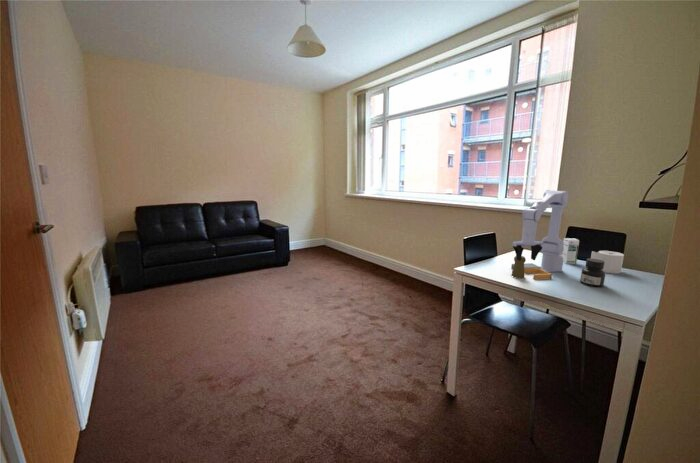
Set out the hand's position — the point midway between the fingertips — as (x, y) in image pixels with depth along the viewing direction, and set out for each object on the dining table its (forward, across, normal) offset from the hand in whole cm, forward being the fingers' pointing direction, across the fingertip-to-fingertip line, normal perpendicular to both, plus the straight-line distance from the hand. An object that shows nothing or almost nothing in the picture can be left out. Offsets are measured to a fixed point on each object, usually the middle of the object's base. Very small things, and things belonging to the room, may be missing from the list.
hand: (525, 259), depth 148 cm
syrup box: (+11, +46, +25) cm, 54 cm away
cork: (+11, 0, +4) cm, 11 cm away
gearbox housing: (+10, +10, +8) cm, 16 cm away
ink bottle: (+11, +29, -9) cm, 32 cm away
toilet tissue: (+11, +55, +9) cm, 57 cm away
